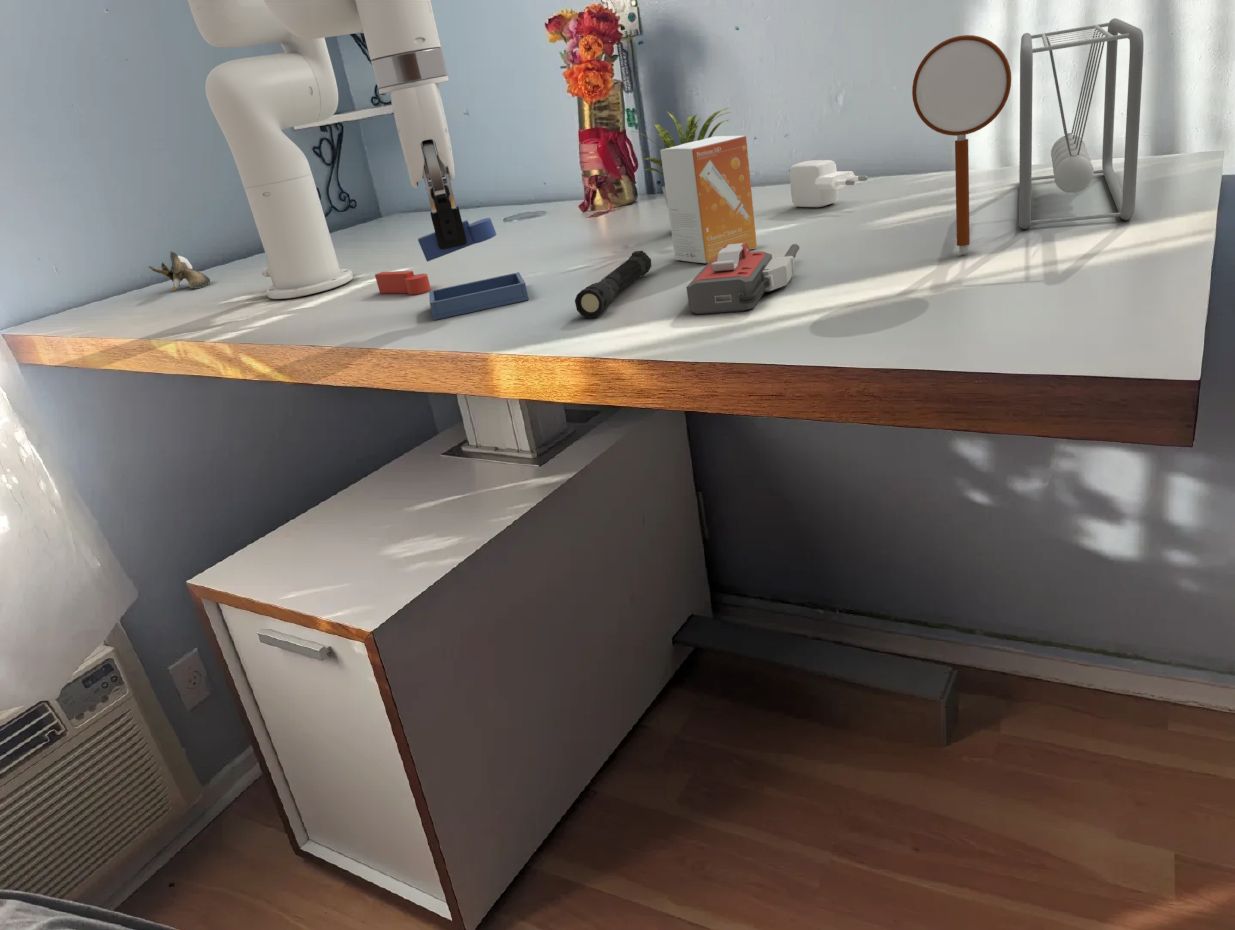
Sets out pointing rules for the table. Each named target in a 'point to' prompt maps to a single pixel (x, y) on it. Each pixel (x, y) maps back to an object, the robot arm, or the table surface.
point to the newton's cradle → (1070, 149)
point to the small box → (709, 196)
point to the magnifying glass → (961, 102)
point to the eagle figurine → (182, 272)
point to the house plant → (682, 137)
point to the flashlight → (611, 285)
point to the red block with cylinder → (402, 282)
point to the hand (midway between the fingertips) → (453, 244)
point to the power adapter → (818, 182)
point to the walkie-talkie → (738, 279)
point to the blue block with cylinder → (473, 234)
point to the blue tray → (477, 295)
